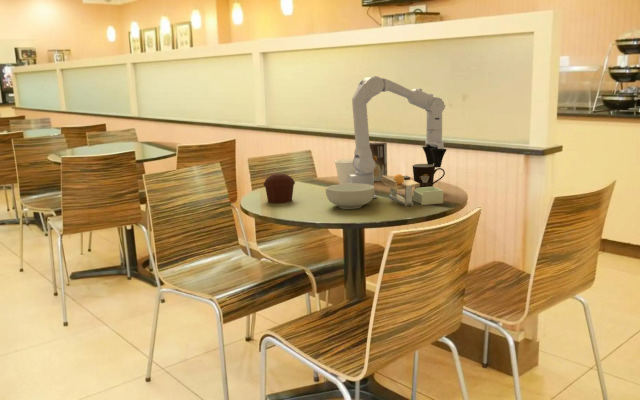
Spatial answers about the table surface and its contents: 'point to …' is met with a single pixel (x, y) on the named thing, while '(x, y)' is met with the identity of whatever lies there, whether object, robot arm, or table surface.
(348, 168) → the cup
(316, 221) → the table surface
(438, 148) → the robot arm
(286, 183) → the muffin
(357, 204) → the cereal bowl
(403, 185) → the tan flat piece
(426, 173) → the coffee mug
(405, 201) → the lever stand
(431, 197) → the bin
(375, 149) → the coffee box
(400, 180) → the ball
